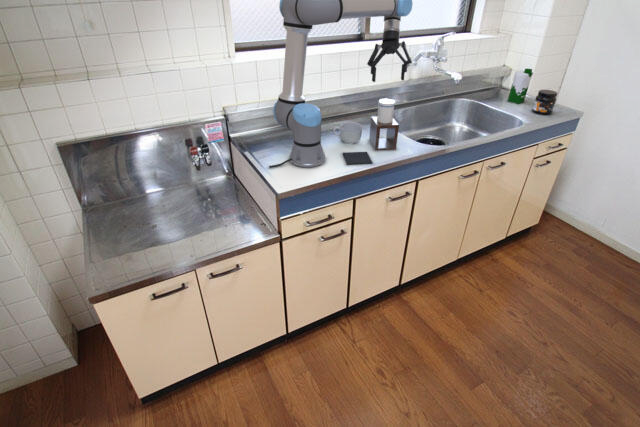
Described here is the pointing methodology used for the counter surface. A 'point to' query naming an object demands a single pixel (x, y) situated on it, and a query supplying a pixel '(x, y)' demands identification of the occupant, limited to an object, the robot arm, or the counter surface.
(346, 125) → the teacup
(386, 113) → the cup
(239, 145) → the counter surface
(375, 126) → the shelf
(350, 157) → the mat
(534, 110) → the supplement container
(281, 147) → the counter surface
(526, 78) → the milk carton
